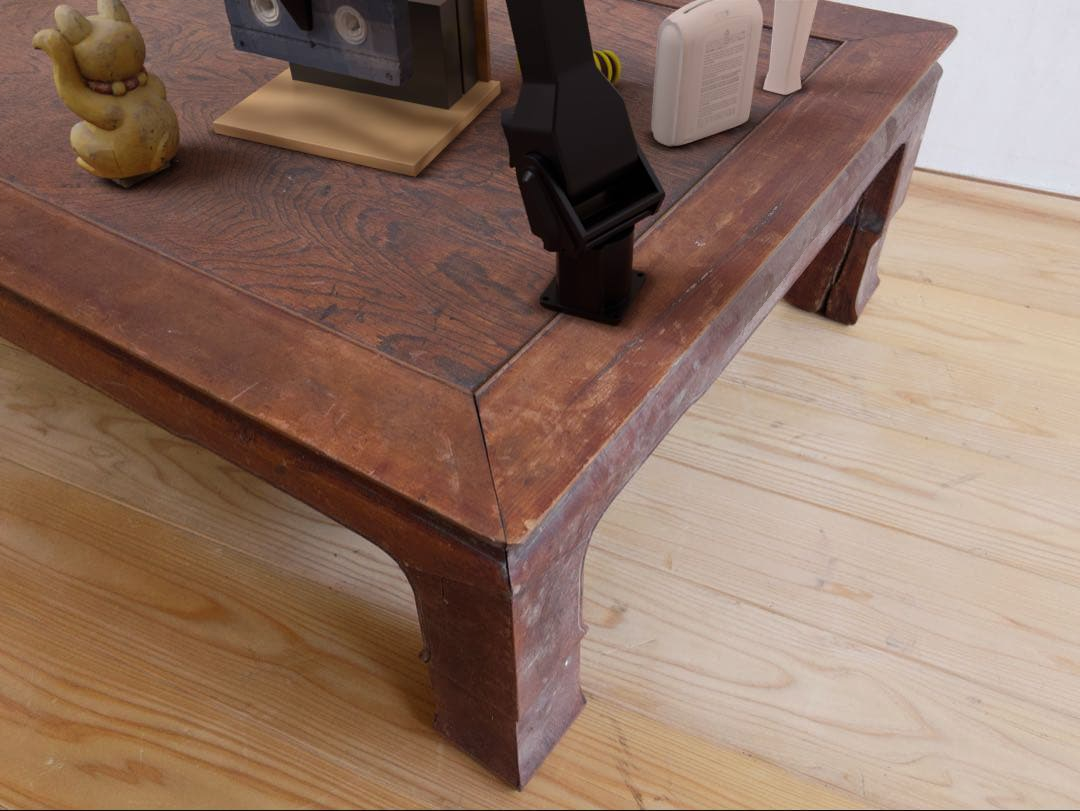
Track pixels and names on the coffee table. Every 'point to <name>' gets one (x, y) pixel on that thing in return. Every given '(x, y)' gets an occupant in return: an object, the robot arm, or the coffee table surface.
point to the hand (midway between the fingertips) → (315, 24)
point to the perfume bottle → (789, 44)
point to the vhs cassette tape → (330, 36)
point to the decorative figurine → (110, 93)
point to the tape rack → (381, 98)
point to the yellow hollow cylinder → (603, 65)
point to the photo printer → (705, 69)
